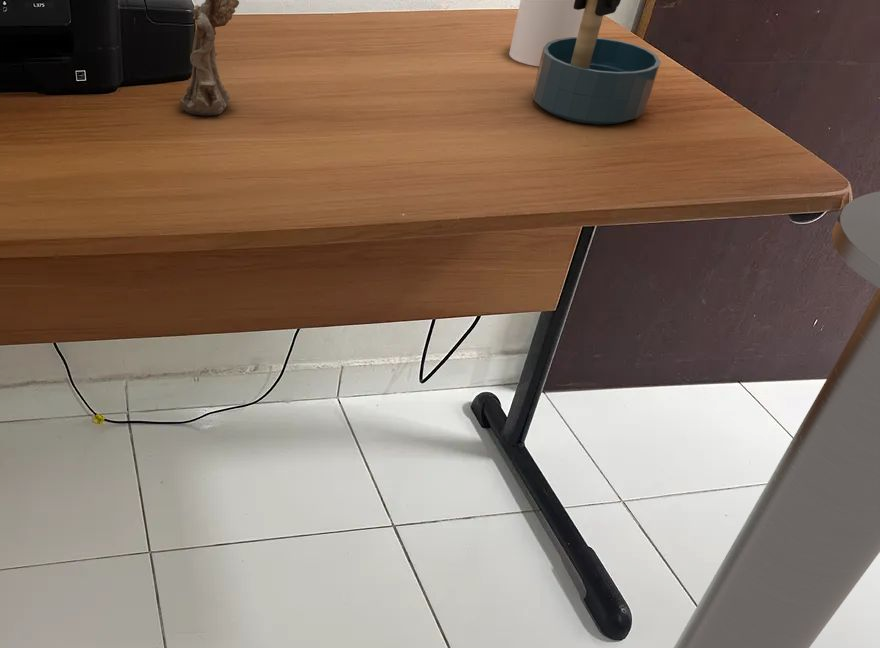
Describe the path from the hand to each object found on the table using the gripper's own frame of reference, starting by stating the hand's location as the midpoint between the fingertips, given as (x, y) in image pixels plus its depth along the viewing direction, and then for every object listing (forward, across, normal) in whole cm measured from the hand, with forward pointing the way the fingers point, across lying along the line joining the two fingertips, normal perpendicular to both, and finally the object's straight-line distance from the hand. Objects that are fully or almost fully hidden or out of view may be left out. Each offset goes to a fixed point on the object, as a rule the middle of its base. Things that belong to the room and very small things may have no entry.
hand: (594, 9), depth 102 cm
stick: (+9, 0, 0) cm, 9 cm away
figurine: (+11, +24, +37) cm, 45 cm away
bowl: (+10, -2, -1) cm, 11 cm away
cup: (+11, +13, -13) cm, 21 cm away
